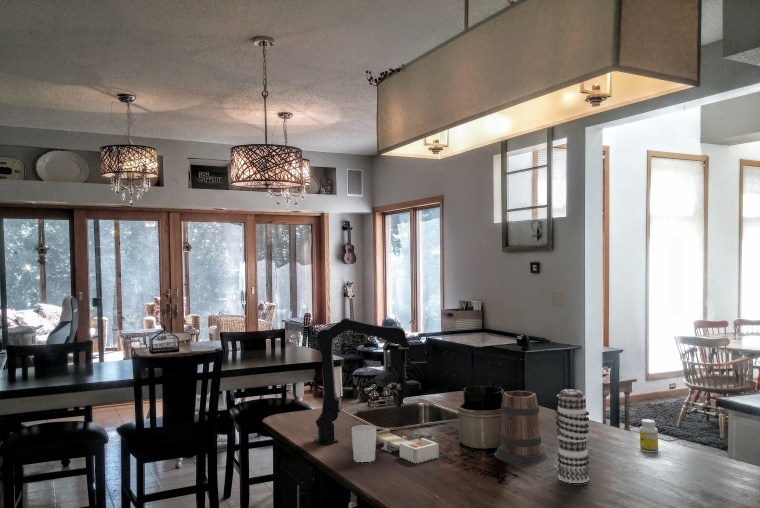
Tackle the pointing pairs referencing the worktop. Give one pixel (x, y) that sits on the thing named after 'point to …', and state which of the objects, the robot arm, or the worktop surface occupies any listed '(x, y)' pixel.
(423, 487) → the worktop surface
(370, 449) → the white cup
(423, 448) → the tray
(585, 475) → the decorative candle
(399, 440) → the lever
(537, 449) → the tankard
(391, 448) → the fulcrum
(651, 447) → the supplement bottle
